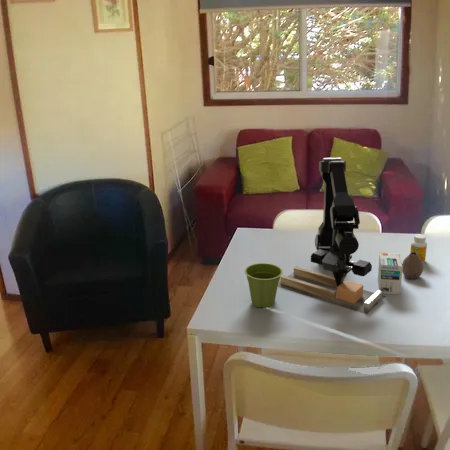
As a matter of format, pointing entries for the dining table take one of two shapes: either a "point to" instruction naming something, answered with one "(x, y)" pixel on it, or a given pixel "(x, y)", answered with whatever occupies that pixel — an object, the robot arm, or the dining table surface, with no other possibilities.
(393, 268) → the light bulb box
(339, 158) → the robot arm
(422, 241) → the supplement bottle
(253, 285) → the plant pot
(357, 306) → the chute
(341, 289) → the orange block
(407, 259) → the vase
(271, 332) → the dining table surface
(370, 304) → the stop bar
